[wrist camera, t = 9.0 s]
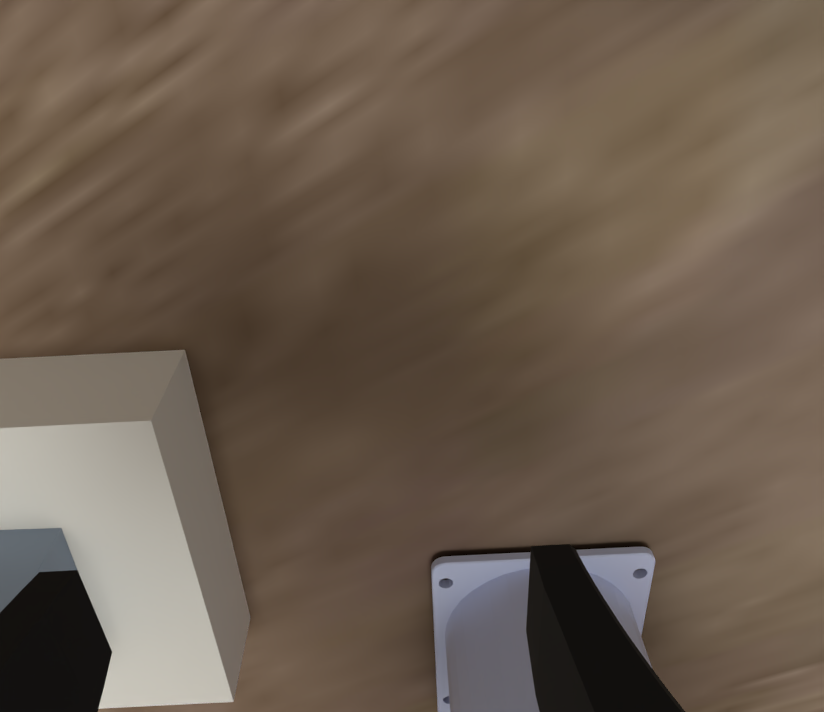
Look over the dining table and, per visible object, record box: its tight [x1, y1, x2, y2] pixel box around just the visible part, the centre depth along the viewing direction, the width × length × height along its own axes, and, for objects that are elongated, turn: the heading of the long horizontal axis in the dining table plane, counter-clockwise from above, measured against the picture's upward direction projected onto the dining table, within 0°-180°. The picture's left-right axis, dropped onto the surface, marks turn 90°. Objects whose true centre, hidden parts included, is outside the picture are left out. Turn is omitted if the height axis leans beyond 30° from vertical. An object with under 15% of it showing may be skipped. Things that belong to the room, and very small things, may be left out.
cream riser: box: [0, 350, 251, 709], centre depth 23 cm, size 12×12×4 cm
